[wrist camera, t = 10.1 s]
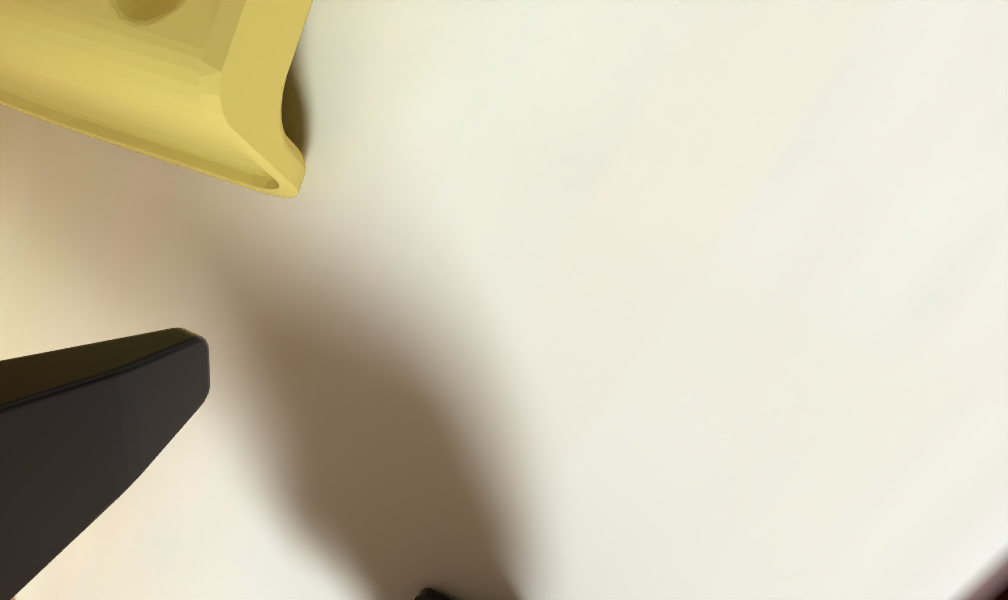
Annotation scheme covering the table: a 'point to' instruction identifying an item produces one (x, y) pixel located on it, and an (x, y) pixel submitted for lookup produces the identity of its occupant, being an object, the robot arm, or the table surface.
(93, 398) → the robot arm
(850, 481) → the table surface
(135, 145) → the plastic component
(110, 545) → the table surface
